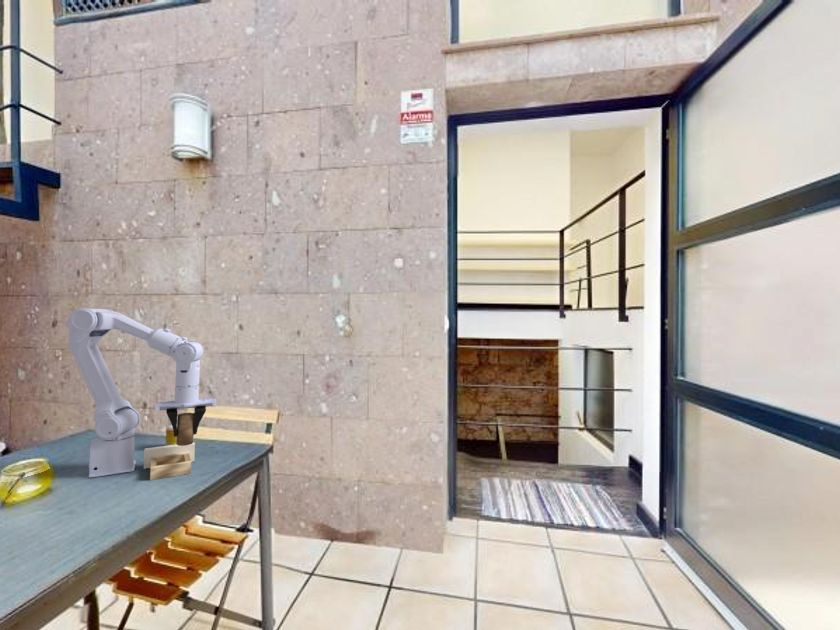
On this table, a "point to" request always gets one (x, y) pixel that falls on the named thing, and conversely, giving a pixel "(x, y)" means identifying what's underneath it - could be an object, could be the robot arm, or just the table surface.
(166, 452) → the wall
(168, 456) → the socket block
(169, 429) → the supplement bottle
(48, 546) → the table surface
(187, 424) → the dowel
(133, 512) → the table surface
